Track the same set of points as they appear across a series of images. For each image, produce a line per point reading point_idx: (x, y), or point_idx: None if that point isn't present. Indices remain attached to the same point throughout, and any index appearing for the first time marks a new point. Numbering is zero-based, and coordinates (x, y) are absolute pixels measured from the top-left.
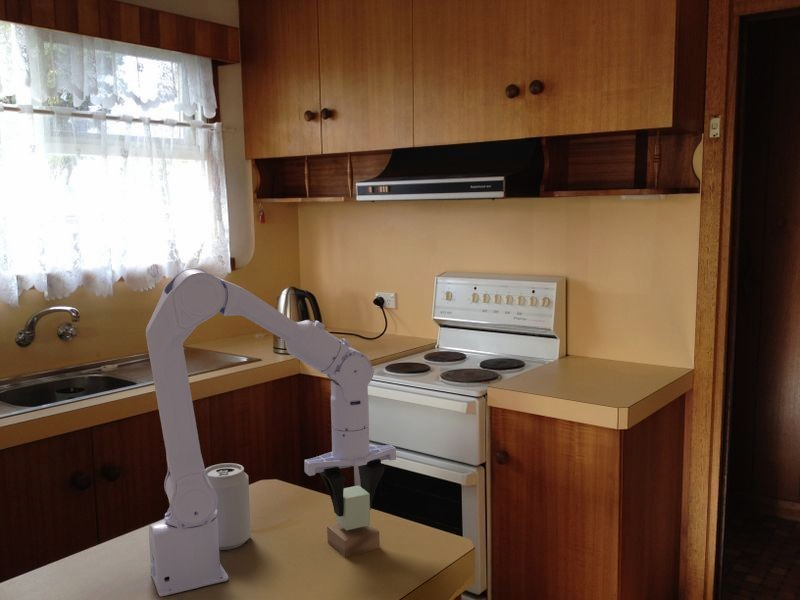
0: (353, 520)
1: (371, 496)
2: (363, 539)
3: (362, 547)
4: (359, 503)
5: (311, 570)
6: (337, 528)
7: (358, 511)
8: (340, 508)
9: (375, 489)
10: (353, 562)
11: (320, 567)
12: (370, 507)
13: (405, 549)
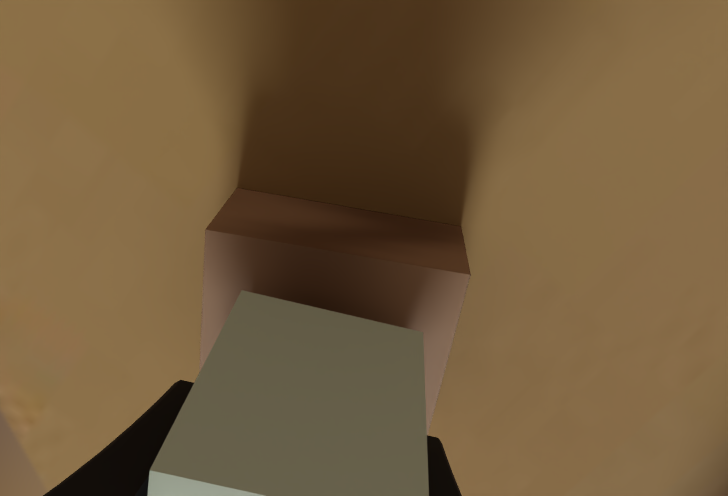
0: (365, 355)
1: (129, 451)
2: (330, 239)
3: (345, 219)
4: (287, 434)
5: (693, 234)
6: None
7: (310, 387)
8: (444, 483)
9: (49, 491)
10: (464, 149)
11: (635, 228)
12: (175, 389)
13: (120, 65)
